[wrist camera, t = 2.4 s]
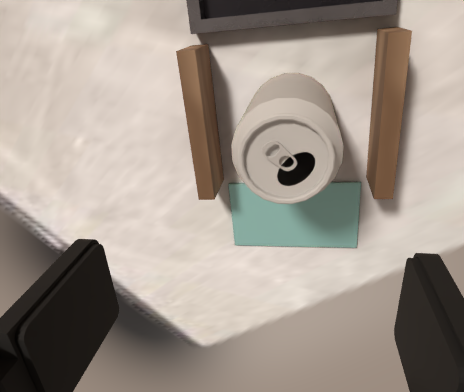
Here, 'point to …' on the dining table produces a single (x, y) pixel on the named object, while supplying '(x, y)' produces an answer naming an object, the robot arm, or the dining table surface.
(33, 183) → the dining table surface
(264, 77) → the dining table surface
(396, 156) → the wooden corridor walls
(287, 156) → the can
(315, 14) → the tray
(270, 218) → the pad
